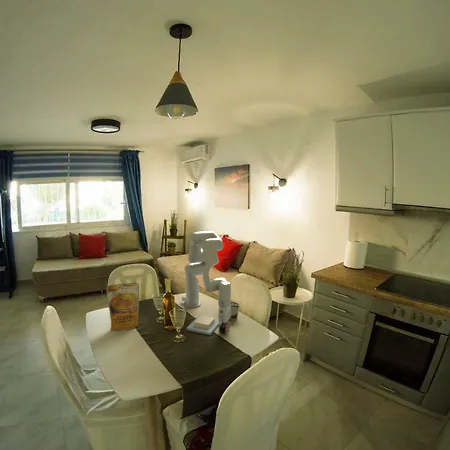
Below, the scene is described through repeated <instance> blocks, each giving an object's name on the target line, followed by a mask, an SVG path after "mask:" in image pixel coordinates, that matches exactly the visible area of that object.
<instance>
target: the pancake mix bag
mask: <svg viewBox="0 0 450 450" xmlns="http://www.w3.org/2000/svg"><path fill="white" fill-rule="evenodd" d="M105 290H106V291H105V292H106V296H107V304H108V310H109V318H110V331H114V330H119V331H123V329H126V330H130V329H129V328H132V329H135V328H137V327H139V321H138V320H139V308H140V307H139V306H140V285H139V283H138V282H128V283H127V282H126V283H116V284H112V285H111V284H110V285H108V286H106V287H105ZM136 326H137V327H136Z"/></svg>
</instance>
